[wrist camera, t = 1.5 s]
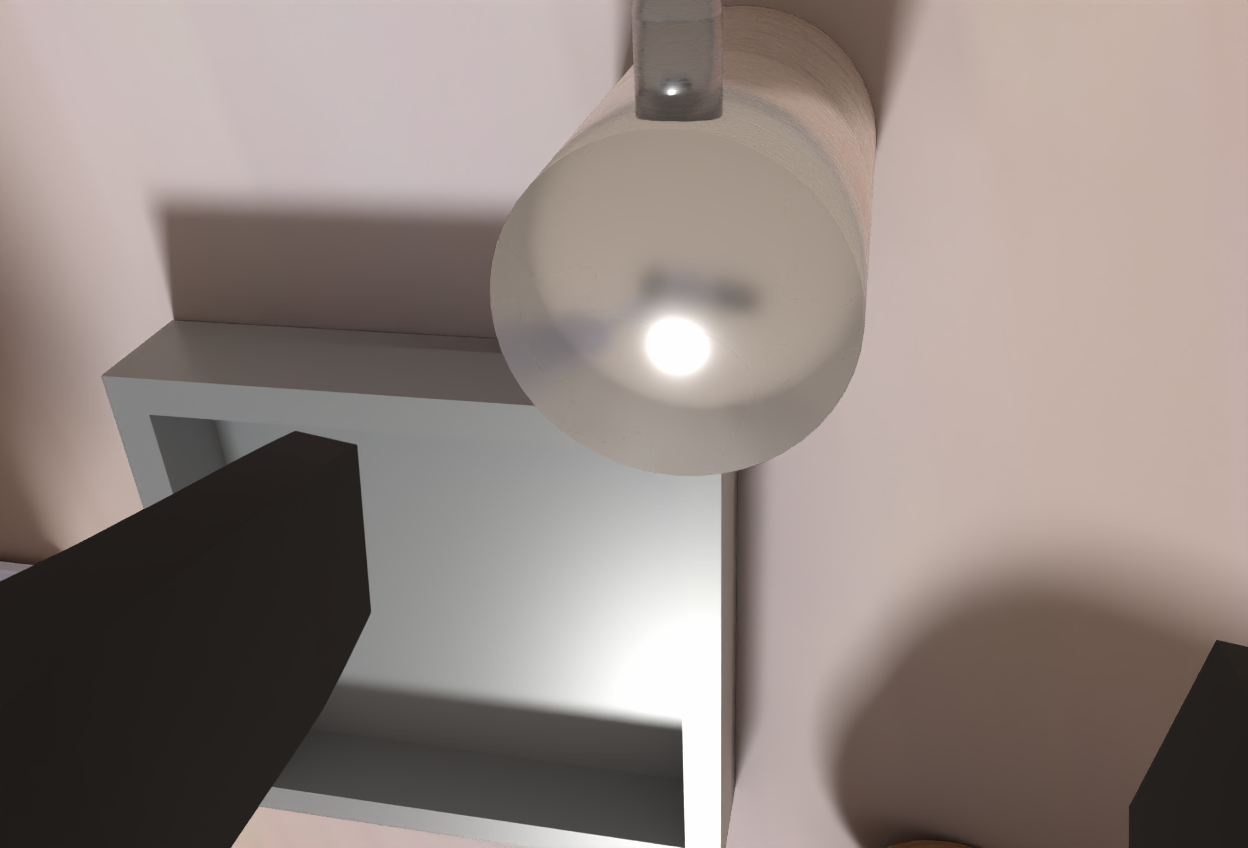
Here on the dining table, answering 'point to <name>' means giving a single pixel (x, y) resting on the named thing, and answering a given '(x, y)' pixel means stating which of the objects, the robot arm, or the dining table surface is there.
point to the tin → (929, 844)
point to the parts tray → (478, 589)
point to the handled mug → (697, 246)
